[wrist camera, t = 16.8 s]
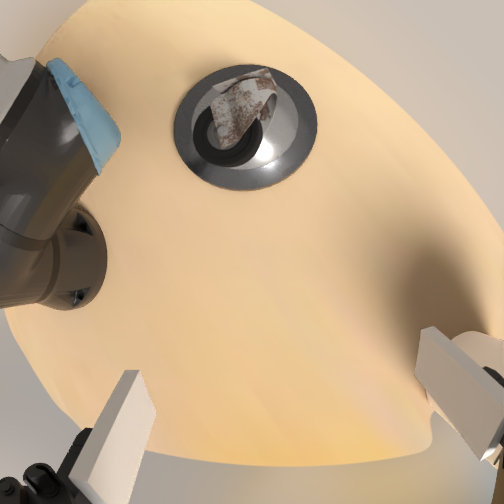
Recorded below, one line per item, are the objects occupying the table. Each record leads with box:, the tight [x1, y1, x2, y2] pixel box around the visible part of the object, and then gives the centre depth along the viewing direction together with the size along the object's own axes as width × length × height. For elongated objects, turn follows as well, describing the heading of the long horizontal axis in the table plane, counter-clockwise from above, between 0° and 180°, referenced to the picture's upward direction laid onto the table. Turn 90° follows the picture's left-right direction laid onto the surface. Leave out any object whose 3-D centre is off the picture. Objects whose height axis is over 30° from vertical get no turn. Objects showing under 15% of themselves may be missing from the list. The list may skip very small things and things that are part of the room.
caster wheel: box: [193, 68, 278, 168], centre depth 34 cm, size 7×11×10 cm
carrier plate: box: [174, 65, 317, 191], centre depth 38 cm, size 19×19×1 cm
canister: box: [426, 331, 504, 470], centre depth 24 cm, size 14×14×20 cm
